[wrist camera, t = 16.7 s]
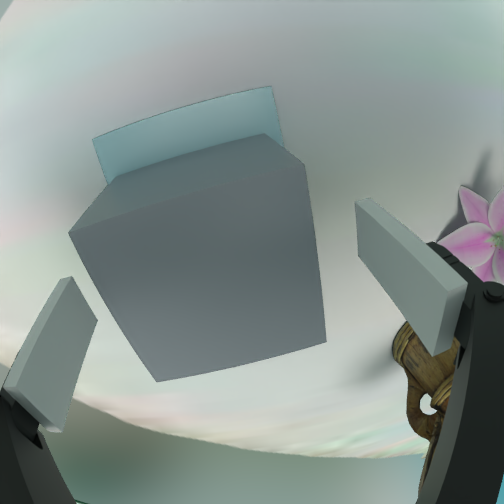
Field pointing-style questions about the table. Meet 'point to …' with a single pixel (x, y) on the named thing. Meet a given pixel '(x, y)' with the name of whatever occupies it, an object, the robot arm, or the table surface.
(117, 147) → the tape square
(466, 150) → the table surface
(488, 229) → the lily
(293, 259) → the matte grey cube
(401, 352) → the wooden mug
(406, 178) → the table surface
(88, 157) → the table surface
